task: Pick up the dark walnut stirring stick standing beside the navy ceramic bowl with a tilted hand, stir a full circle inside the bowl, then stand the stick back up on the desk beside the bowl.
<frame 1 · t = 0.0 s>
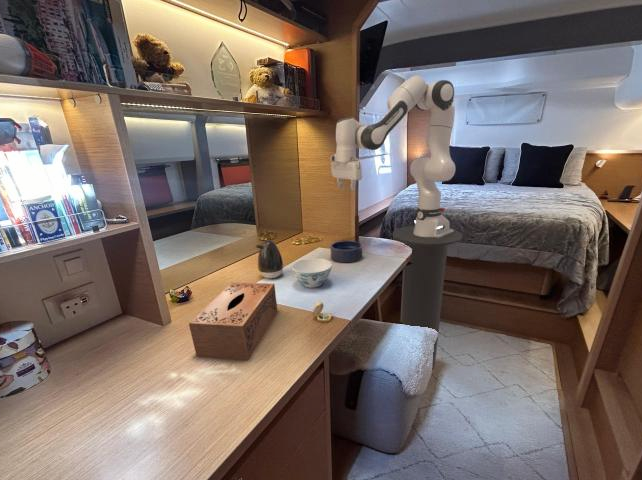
hand: (346, 188, 158), 29 cm above the table, tool pointing down, fingers open, 8 cm apart
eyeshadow: (323, 318, 105), on the table
tissue box cover: (241, 332, 100), on the table
stirring stick: (357, 247, 170), on the table
pump dispenser: (271, 276, 139), on the table
chinaware: (312, 284, 130), on the table
bowl: (346, 257, 156), on the table
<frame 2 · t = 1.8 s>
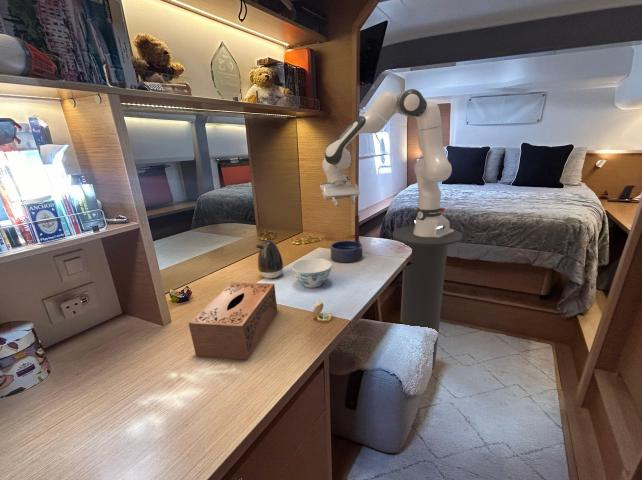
hand: (345, 204, 172), 19 cm above the table, tool tilted 45°, fingers open, 8 cm apart
nothing on the table moved.
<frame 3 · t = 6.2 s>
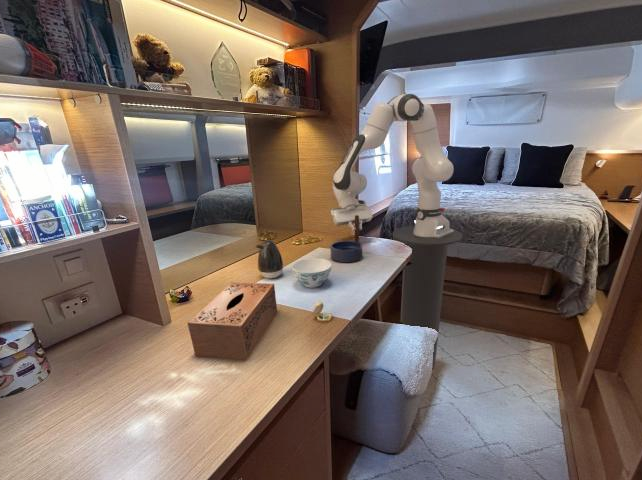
hand: (357, 229, 165), 9 cm above the table, tool tilted 45°, fingers closed on stirring stick, 2 cm apart
stirring stick: (357, 247, 170), on the table, touching gripper
everything else where it was.
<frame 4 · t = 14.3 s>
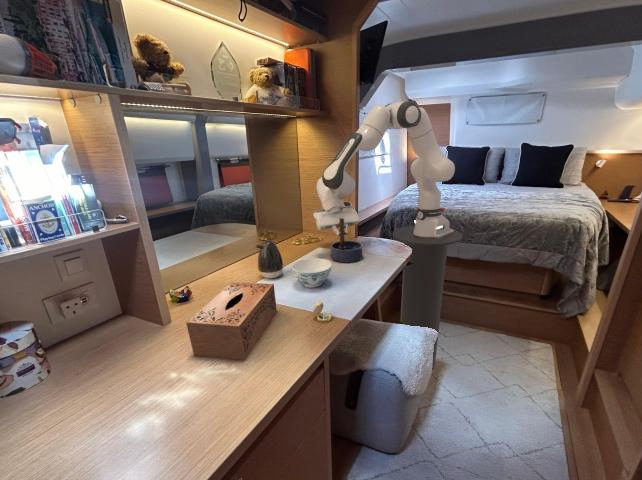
hand: (342, 234, 151), 11 cm above the table, tool tilted 45°, fingers closed on stirring stick, 2 cm apart
stirring stick: (342, 253, 155), point 2 cm above the table, touching gripper
everything else where it was.
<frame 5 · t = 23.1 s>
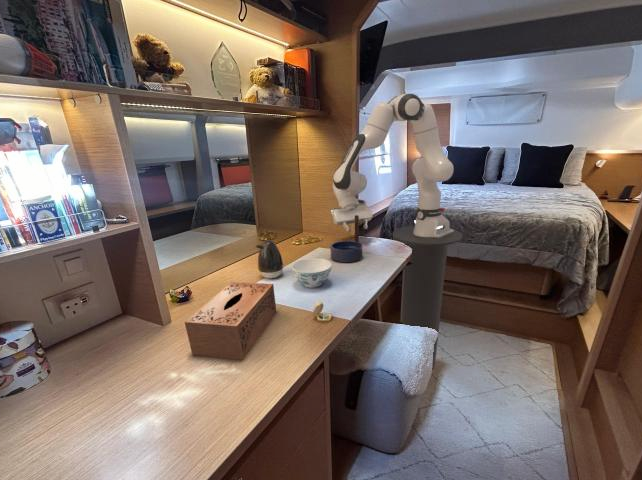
hand: (357, 229, 165), 9 cm above the table, tool tilted 45°, fingers open, 8 cm apart
stirring stick: (356, 247, 169), on the table
everything else where it was.
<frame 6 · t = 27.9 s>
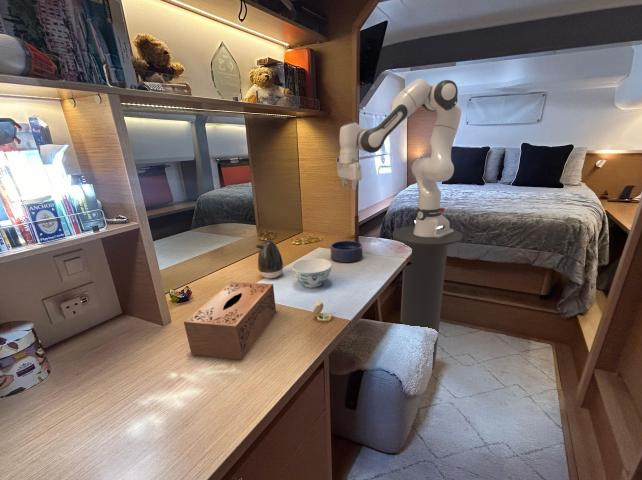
hand: (349, 188, 170), 27 cm above the table, tool pointing down, fingers open, 8 cm apart
at the end: stirring stick inside the target area (0.1 cm from its centre), on the table; stirring stick tilted 0°; the gripper is holding nothing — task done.
